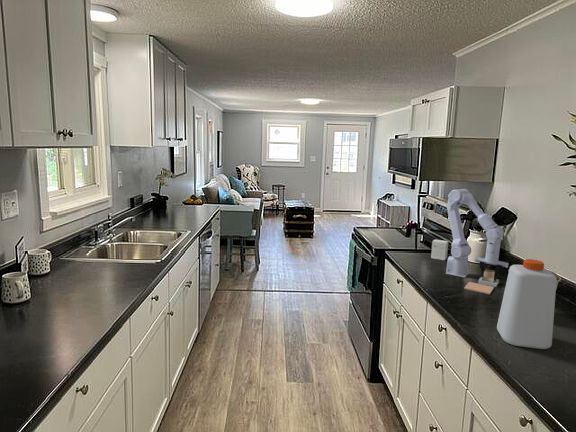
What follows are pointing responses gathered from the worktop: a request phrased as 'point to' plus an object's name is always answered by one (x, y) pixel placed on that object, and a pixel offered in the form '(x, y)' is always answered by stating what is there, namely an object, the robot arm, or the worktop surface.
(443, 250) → the small box
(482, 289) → the mat
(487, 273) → the birch block
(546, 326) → the plastic bottle
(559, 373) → the worktop surface
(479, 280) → the holder
